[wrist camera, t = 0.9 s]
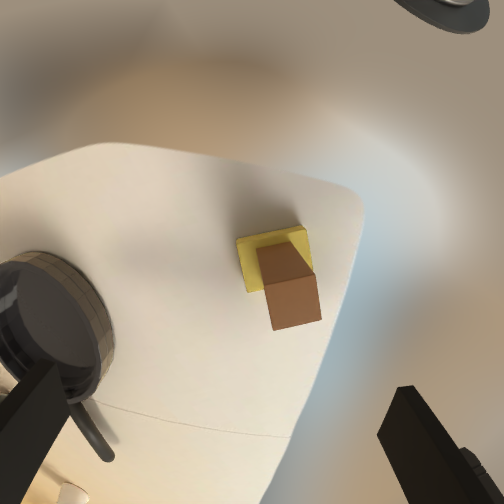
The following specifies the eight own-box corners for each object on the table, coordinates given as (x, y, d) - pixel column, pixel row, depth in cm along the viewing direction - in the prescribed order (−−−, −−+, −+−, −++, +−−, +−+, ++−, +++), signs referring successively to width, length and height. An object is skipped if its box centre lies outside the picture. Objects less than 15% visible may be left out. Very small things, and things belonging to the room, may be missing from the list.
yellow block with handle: (301, 224, 28) (338, 255, 17) (309, 271, 29) (346, 324, 18) (236, 238, 28) (234, 278, 17) (246, 285, 29) (251, 346, 18)
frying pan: (84, 234, 27) (62, 243, 23) (137, 380, 31) (127, 403, 27) (-16, 266, 27) (-36, 276, 23) (35, 384, 32) (20, 401, 27)
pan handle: (76, 386, 29) (68, 397, 27) (119, 454, 32) (115, 465, 30) (62, 386, 29) (55, 397, 27) (106, 453, 32) (101, 464, 30)
